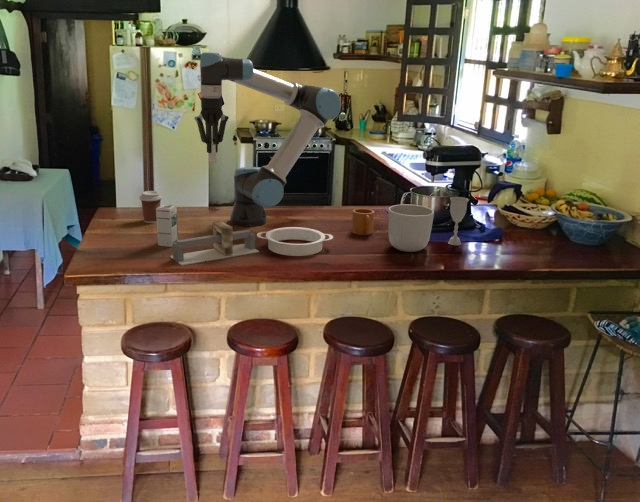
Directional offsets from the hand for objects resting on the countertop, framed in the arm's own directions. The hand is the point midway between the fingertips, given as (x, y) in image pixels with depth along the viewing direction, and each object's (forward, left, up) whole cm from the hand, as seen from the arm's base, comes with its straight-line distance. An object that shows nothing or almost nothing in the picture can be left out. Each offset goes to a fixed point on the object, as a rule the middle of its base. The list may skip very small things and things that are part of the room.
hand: (212, 161), depth 241 cm
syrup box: (+19, +1, -30) cm, 35 cm away
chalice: (-79, +52, -30) cm, 99 cm away
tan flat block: (+6, +20, -28) cm, 35 cm away
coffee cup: (+13, -31, -30) cm, 45 cm away
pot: (-21, +26, -30) cm, 45 cm away
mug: (-55, +24, -30) cm, 67 cm away
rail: (+9, +20, -29) cm, 37 cm away
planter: (-58, +48, -30) cm, 81 cm away
